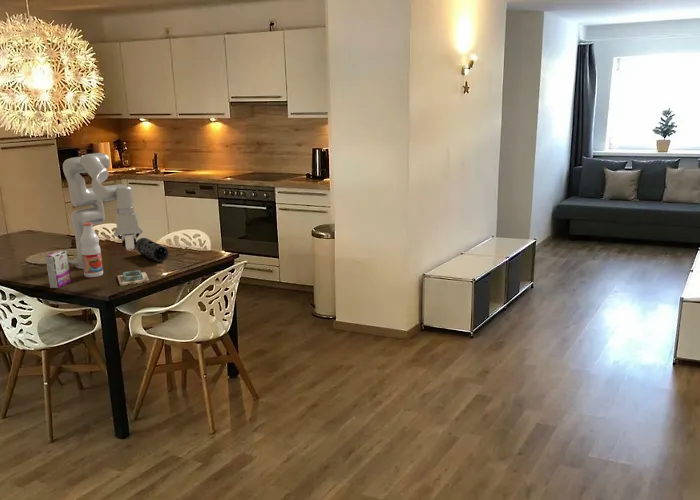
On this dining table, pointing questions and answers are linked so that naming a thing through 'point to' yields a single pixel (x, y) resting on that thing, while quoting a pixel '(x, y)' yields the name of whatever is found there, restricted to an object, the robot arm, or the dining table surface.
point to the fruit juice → (91, 252)
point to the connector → (129, 241)
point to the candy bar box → (58, 269)
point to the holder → (132, 277)
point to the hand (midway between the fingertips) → (129, 246)
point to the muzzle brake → (152, 249)
